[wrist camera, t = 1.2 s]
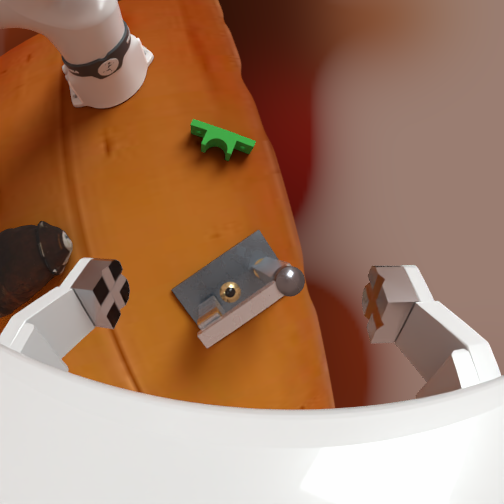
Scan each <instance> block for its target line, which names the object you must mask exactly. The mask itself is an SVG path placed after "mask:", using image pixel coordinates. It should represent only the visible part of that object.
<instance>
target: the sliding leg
mask: <svg viewBox="0 0 504 504" xmlns="http://www.w3.org/2000/svg"><path fill="white" fill-rule="evenodd" d="M224 314H225V311H224V309H223V307H222V306H221V305H220V303H219V302H218V301H217V299H216V298H215V296H214V295H213V296H211V297H210V298H208V299H207V300H205V301H204V302H203V303H201V304H200V305H199V315H198V319H197V324H198V327H199V328H200V329H203V328H204V327H206V326H207V325H209V324H210V323H212V322H213V321H215V320H216V319H218V318H219V317H221V316H222V315H224Z"/></svg>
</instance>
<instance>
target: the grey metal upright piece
mask: <svg viewBox="0 0 504 504" xmlns="http://www.w3.org/2000/svg"><path fill="white" fill-rule="evenodd" d="M252 268H253V269H254V271H255V272H256V274H257V275H258V276H259V278H260V280H261V281H262V282H264V283H265V284H267V285H265V286H264V287H262V288H261V289H260V290H258V291H257V292H255V293H254V294H252V295H251V296H250V297H248V298H247V299H245V300H244V301H242V302H241V303H240V304H238V305H237V306H235V307H234V308H232V309H231V310H229V311H228V312H227V313H225V314H224V315H222V316H221V317H219V318H218V319H216V320H215V321H213V322H212V323H210V324H209V325H207V326H206V327H204V328H203V329H201V330H200V331H198V332H197V336H198V338H199V339H200V340H201V342H202V343H203V344H204V345H205V347H206V348H209V347H210V346H212V345H213V344H215V343H216V342H218V341H219V340H221V339H222V338H224V337H225V336H227V335H228V334H230V333H231V332H233V331H234V330H236V329H237V328H239V327H240V326H241V325H243V324H244V323H246V322H247V321H249V320H250V319H252V318H253V317H254V316H256V315H257V314H259V313H260V312H262V311H263V310H264V309H266V308H267V307H269V306H270V305H271V304H273V303H274V302H276V301H277V300H278V299H280V298H281V297H283V296H284V295H285V296H294V295H297V294H298V293H299V292H300V291H301V290H302V289H303V287H304V283H305V278H304V275H303V273H302V272H301V271H300V270H299V269H298V268H296V267H292V266H291V265H290V263H287V262H284V261H280V260H276V259H273V258H269V257H265V258H264V259H262V260H261V261H259V262H258V263H257V264H255V265H254V266H252Z"/></svg>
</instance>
